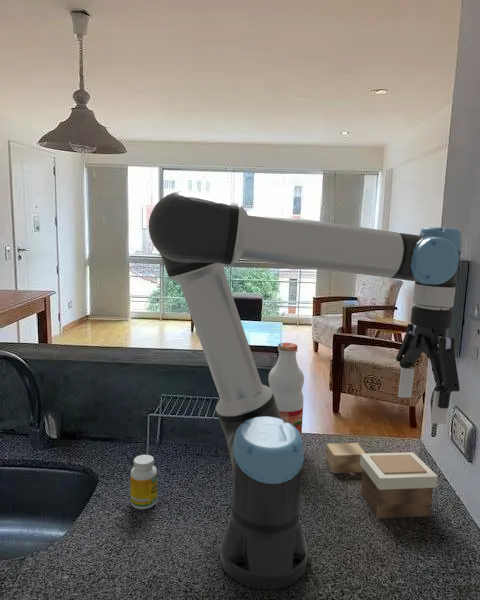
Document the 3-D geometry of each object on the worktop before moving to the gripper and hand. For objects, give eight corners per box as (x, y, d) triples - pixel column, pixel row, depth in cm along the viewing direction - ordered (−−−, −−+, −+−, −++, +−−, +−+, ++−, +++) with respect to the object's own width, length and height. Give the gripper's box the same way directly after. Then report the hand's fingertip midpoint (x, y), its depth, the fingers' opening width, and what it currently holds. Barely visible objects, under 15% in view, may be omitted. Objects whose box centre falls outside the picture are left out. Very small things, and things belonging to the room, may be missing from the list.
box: (377, 520, 92) (380, 488, 91) (360, 495, 101) (362, 465, 100) (429, 518, 94) (433, 486, 93) (408, 493, 102) (411, 463, 101)
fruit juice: (265, 439, 127) (270, 339, 123) (300, 442, 126) (306, 341, 122) (263, 455, 117) (268, 348, 113) (301, 458, 116) (307, 350, 112)
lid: (379, 489, 91) (380, 476, 90) (359, 464, 100) (360, 452, 100) (436, 487, 92) (437, 474, 92) (412, 462, 102) (413, 451, 102)
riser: (332, 475, 109) (334, 455, 108) (325, 462, 115) (326, 443, 114) (365, 474, 110) (366, 454, 109) (356, 461, 116) (357, 442, 115)
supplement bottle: (133, 495, 98) (133, 452, 97) (158, 495, 99) (158, 452, 97) (128, 510, 93) (127, 465, 92) (154, 510, 93) (155, 465, 92)
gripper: (491, 319, 80) (474, 435, 83) (418, 297, 104) (408, 388, 107) (450, 318, 79) (435, 435, 82) (387, 296, 103) (377, 388, 106)
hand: (420, 409), depth 95 cm, fingers open, 13 cm apart
